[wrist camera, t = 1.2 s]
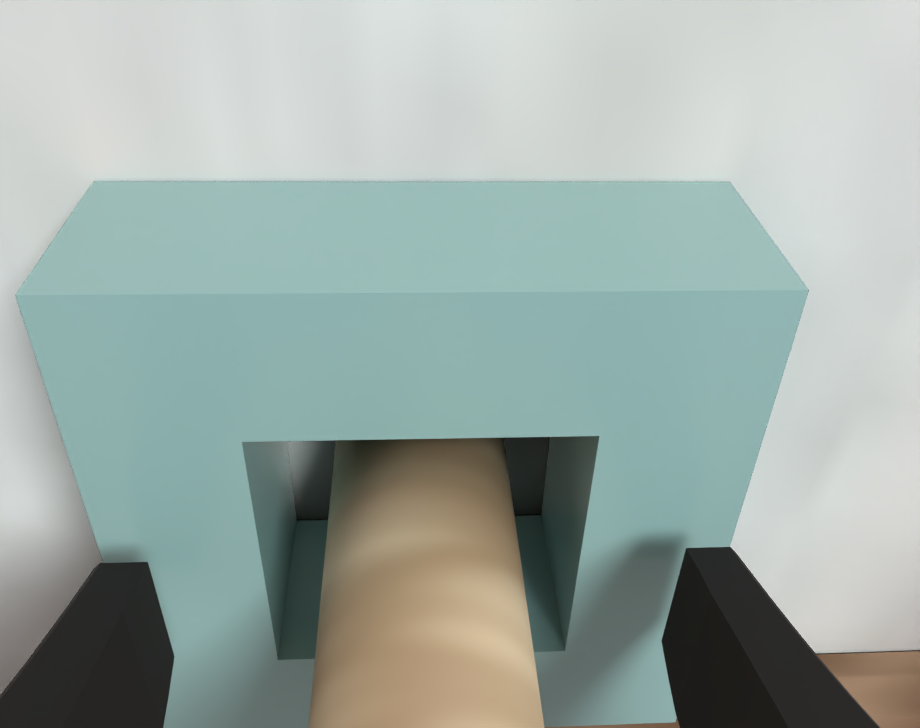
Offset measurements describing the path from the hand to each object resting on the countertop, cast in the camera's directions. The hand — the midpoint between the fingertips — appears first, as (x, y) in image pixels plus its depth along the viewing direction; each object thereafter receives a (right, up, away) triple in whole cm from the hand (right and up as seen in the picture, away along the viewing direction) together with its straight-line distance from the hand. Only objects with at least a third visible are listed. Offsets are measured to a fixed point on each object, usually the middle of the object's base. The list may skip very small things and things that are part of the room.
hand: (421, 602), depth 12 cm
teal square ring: (0, +2, +3) cm, 4 cm away
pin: (0, +2, +3) cm, 4 cm away
